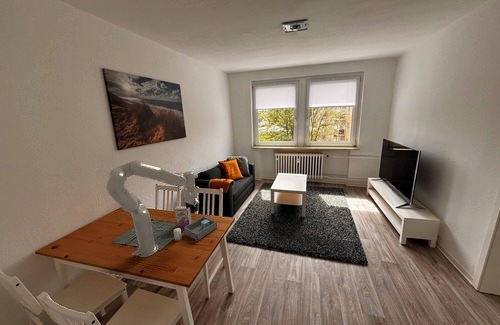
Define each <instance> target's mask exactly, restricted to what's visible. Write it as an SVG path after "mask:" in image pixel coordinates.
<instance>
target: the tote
mask: <svg viewBox="0 0 500 325" xmlns="http://www.w3.org/2000/svg"><path fill="white" fill-rule="evenodd" d="M205 219H206V220H208V221H210V225H209V226H208V227H206V228H205V229H203V228H202V227H201V222H202V221H204V220H205ZM217 224H218V222H217V221H216V220H214V219H211V218H209V217H207V216H202V217H199V218H198V219H196V220H195V221H193V222H192V223H191V224H189V225H187V226H186V227H183V232H184V235H186V236H187V237H189V238H191V239H192V240H194V241H196V242H199V241H200V240H202V239H203V238H205V237H206V236H208V235H209V234H211V233H213V232H214V231H215V230H217V229H218V225H217Z"/></svg>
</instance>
